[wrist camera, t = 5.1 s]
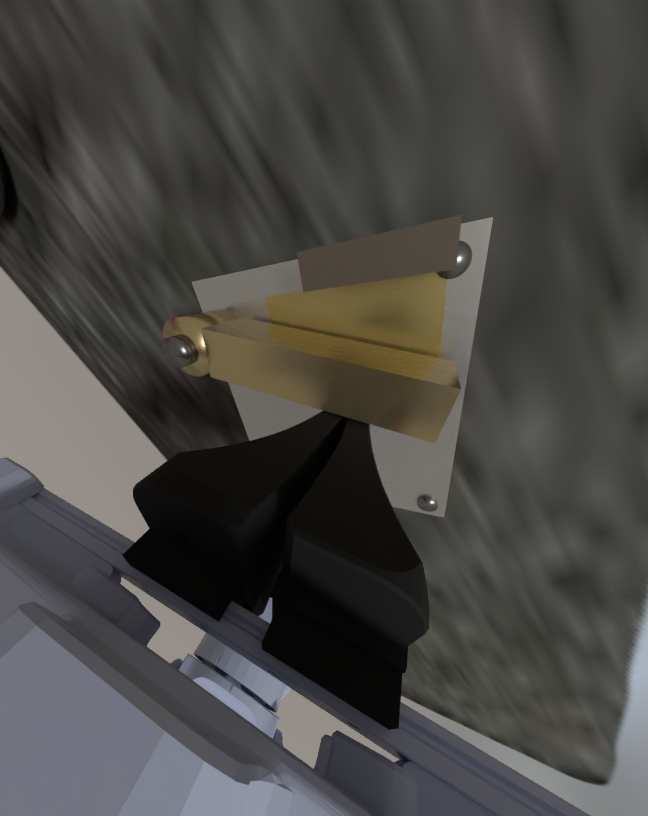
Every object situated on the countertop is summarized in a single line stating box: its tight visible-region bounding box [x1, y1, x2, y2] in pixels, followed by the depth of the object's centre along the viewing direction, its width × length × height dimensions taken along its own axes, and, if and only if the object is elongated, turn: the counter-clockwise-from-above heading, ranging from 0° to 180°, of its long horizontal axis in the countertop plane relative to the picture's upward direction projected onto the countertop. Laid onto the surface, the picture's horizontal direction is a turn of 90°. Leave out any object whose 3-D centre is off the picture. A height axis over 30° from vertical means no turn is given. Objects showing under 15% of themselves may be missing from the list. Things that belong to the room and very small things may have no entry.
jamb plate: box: [192, 217, 493, 517], centre depth 12 cm, size 13×12×1 cm
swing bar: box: [161, 309, 461, 443], centre depth 9 cm, size 11×2×3 cm, turn 85°
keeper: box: [266, 215, 462, 356], centre depth 8 cm, size 4×7×2 cm, turn 99°
